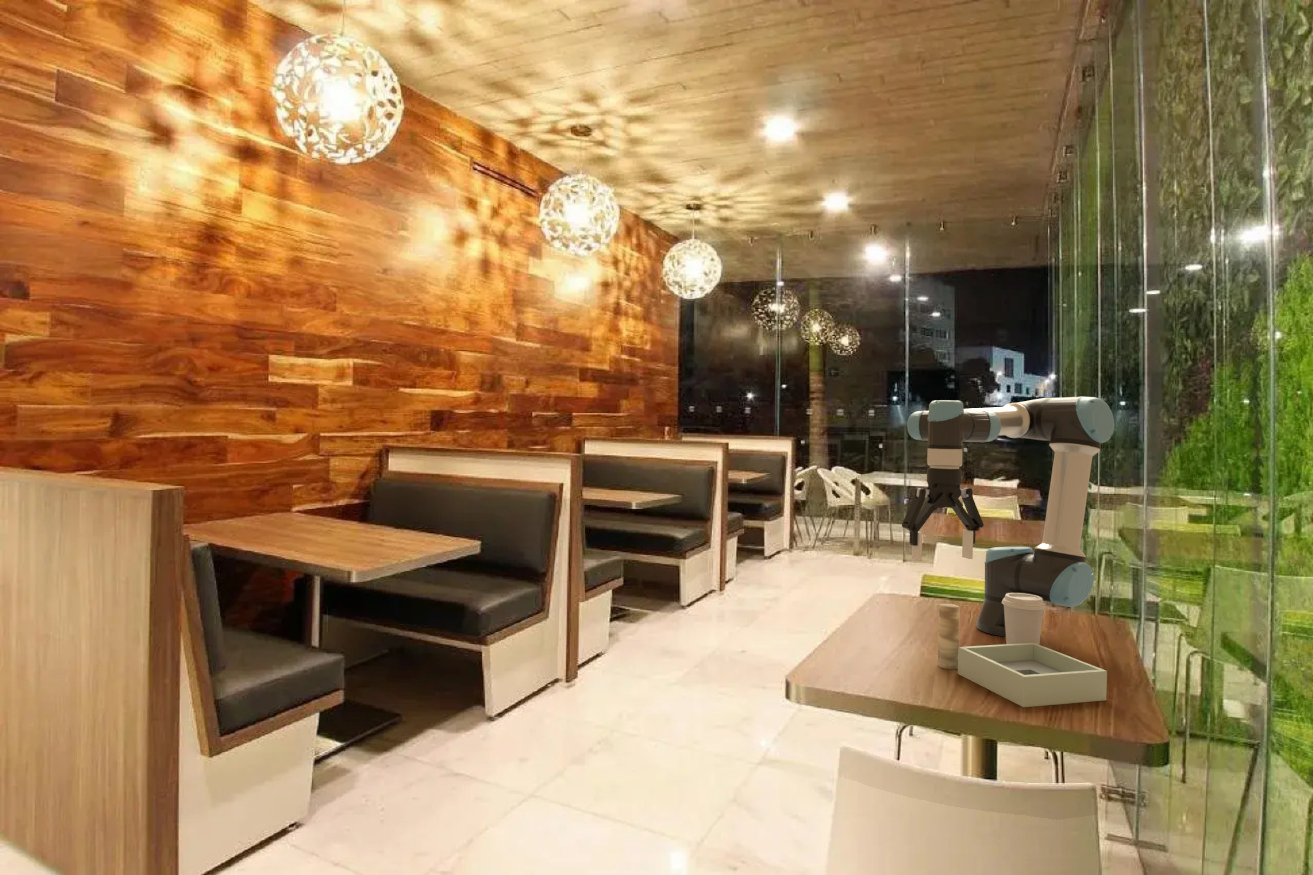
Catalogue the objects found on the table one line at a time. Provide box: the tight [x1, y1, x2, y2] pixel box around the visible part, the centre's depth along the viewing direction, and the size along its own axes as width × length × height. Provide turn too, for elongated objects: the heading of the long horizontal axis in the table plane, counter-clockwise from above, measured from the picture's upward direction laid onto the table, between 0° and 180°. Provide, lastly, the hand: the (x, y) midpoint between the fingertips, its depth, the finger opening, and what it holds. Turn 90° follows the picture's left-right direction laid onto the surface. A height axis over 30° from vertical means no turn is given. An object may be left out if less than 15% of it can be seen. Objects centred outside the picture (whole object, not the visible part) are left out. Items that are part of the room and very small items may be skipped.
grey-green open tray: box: [957, 643, 1108, 708], centre depth 157 cm, size 20×20×6 cm
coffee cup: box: [1002, 593, 1047, 645], centre depth 176 cm, size 10×10×15 cm
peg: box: [937, 603, 961, 671], centre depth 169 cm, size 4×4×14 cm
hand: (942, 559), depth 169 cm, fingers open, 13 cm apart
